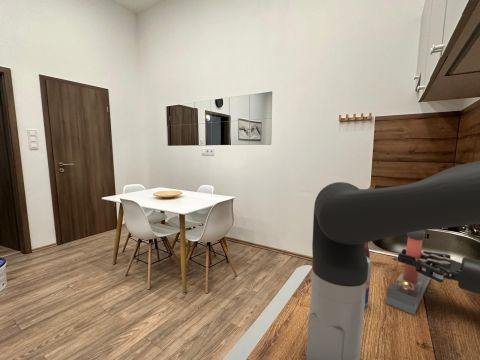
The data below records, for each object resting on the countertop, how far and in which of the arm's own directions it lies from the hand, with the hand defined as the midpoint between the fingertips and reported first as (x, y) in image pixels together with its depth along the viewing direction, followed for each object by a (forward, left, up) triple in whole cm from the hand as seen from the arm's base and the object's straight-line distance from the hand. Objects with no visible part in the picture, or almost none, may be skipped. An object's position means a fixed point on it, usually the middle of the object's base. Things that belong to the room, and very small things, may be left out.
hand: (400, 254), depth 68 cm
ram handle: (0, -3, -8) cm, 8 cm away
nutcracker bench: (+1, -3, -10) cm, 10 cm away
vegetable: (+10, +16, -10) cm, 21 cm away
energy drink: (-15, +6, -10) cm, 19 cm away
